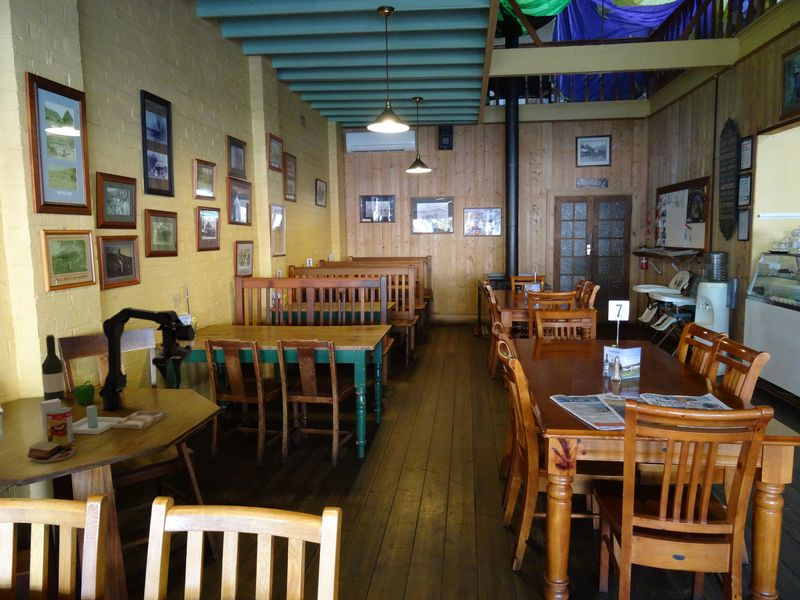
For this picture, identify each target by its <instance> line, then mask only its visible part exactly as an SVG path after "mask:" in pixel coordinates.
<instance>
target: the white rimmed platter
mask: <svg viewBox="0 0 800 600" xmlns="http://www.w3.org/2000/svg"><path fill="white" fill-rule="evenodd" d="M97 418H98V427H96V428H88V418H87V416H86V417H85V418H82V419H80V420H78V421H76V422H72V423H73V434H80V435H81V434H83V435H85V434H87V435H99V434H101V433H103V432H105V431H108V430H110V429H111V428H112V424H114V423H116V422H118V421H120V420H121V419H123V417H113V416H112V417H108V416H107V417H106V416H104V417H103V416H97Z"/></svg>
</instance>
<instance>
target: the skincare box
mask: <svg viewBox="0 0 800 600" xmlns="http://www.w3.org/2000/svg"><path fill="white" fill-rule="evenodd" d="M60 407H62V400H59V399H53V400H48V401H45V400H44V401H43V400H42V401H40V409H41V410H40V411H41V418H42V419H41V421H42V430H43V432H44V433H45V434H48V433H47V420H46V411H48V410H50V409H54V408H60Z"/></svg>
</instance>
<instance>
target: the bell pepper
mask: <svg viewBox="0 0 800 600" xmlns="http://www.w3.org/2000/svg"><path fill="white" fill-rule="evenodd" d="M88 383H89V384H88ZM90 383H91V380H86V381H85V382H83V384H81V385H77V386H75V387H74V389H73V395H74V399H75V402H76V403H77V404H79V405H87V404H90V403H93V402H94V400H95V394H96V387H95V386H94V385H93V384H92V383H91V384H90Z"/></svg>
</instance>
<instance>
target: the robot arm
mask: <svg viewBox="0 0 800 600" xmlns="http://www.w3.org/2000/svg"><path fill="white" fill-rule="evenodd" d="M130 319H137V320H144V321H149V322H154V323H156V324H158V325H159V326H158V327H157V328H156V331H161V339H162V343H160V347H162V352H161V353H160V355H158V356H155V357H153V358H152V359H151V365H153V366H154V367H156V369H157V370H158V371H159V373H160V375H161V376H162V378H163V380H168V377H169V375H168V372H169V367H170V366H171V365H172V367H173V371H174V373H175V375H179V374H180V371H181V366H182V363H183V362H184V361H185V360H186V359H187V358H189V357H190V355H191V354H192V353H193V351H192V349H193V348H192V345H189V344H186V345H185V346H184V345H183V346H181V343H180V342H193V341H194V340H195V338H196V331H195V328H194V327H193V324H184V323H183V322H182V320H181V318H180V317H179V316H178V314H177V312H176V311H175V310H159V311H156V310H148V309H147V310H146V309H141V308H134V307H133V308H132V307H125V308H122V309H121V310H119V311H118V312H117V313H116V314H114V315H112V316H111V317H109V318H107V319H105V320H104V321H103V322H102V329H103V333H104V336H105V337H106V339H107V357H108V358H107V359H108V360H107V362H108V363H107V365H108V367H107V368H108V370H107V371H108V372H107V374H106V377H105V379H104V384H103V386H104V387H103V388H102V389H101V390H100V391H99V392H98V396H99V397H100V398H102V404H103V405H102V406H103V407H102V408H101V409H100V410H101V411H112V412H113V411H118V410H120V409H121V408H123V407H124V405H123V404H122V403H123V401H122V396H121V393H123V392H124V391H123V390H124V388H126V385H127V384H128V381H127V377H128V376H127V374H126V373H125V374H124V372H123V371H122V353H121V351H122V349H121V348H122V345H121V338H122V336H123V334H124V332H125V325H126V324H127V323H128V322H129V321H130Z"/></svg>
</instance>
